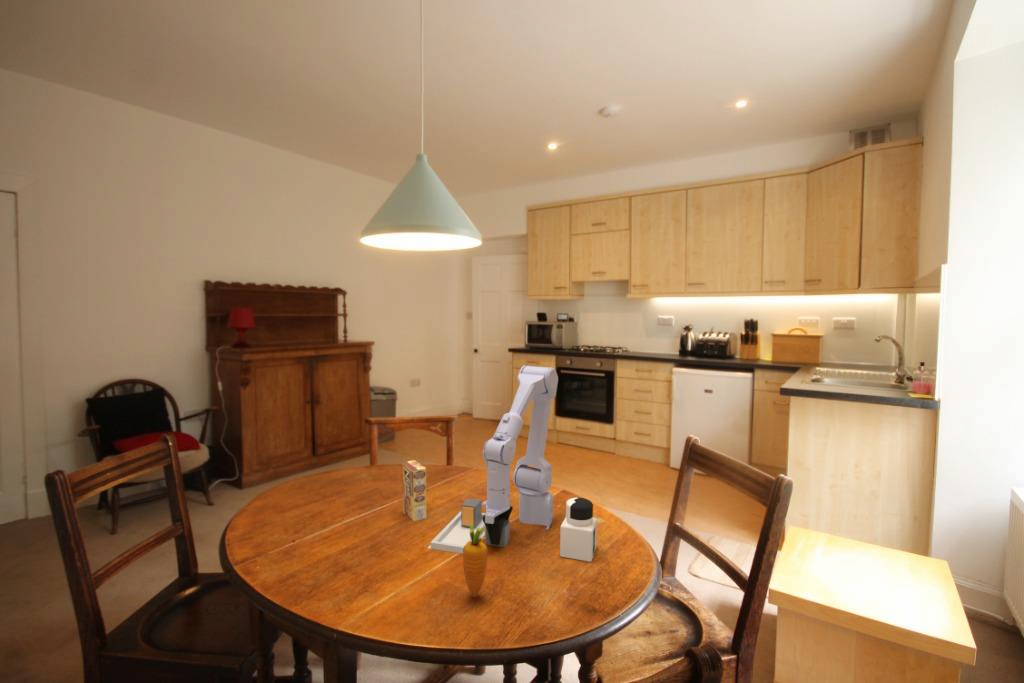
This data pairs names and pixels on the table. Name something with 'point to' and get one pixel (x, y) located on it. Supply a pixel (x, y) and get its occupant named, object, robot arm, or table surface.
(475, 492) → the table surface
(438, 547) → the white tray
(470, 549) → the carrot
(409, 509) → the candy box
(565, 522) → the container
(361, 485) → the table surface
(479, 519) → the grey toy block
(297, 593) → the table surface
